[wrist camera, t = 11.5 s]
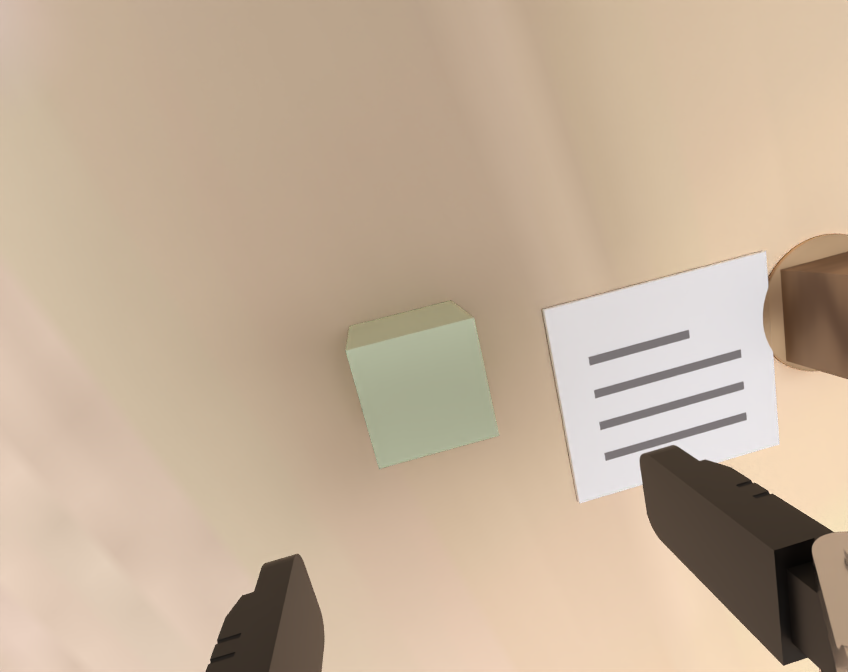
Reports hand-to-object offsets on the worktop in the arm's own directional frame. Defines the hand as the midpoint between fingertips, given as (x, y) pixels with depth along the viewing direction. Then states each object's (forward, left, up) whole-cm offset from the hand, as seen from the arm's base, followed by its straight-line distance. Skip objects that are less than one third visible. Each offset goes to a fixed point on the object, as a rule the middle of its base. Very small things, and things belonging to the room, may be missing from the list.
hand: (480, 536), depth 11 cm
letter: (+5, +14, -15) cm, 21 cm away
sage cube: (0, 0, -15) cm, 15 cm away
